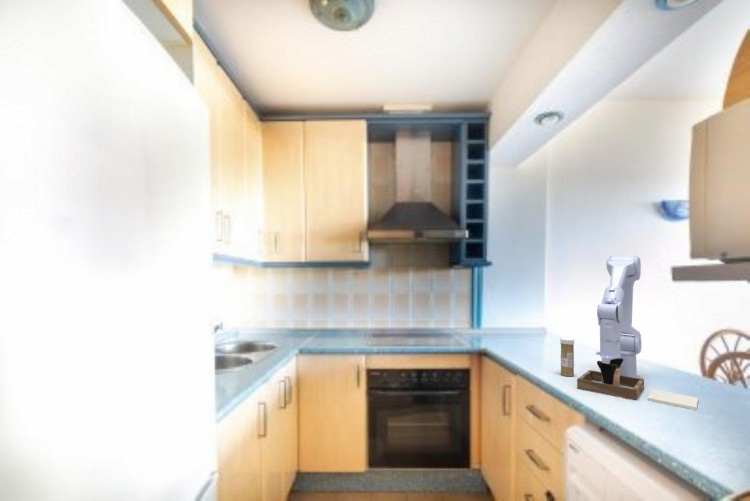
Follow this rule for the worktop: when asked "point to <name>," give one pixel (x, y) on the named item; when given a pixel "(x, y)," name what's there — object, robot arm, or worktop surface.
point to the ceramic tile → (673, 399)
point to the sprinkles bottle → (567, 356)
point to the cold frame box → (623, 392)
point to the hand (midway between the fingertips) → (610, 382)
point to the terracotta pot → (616, 377)
